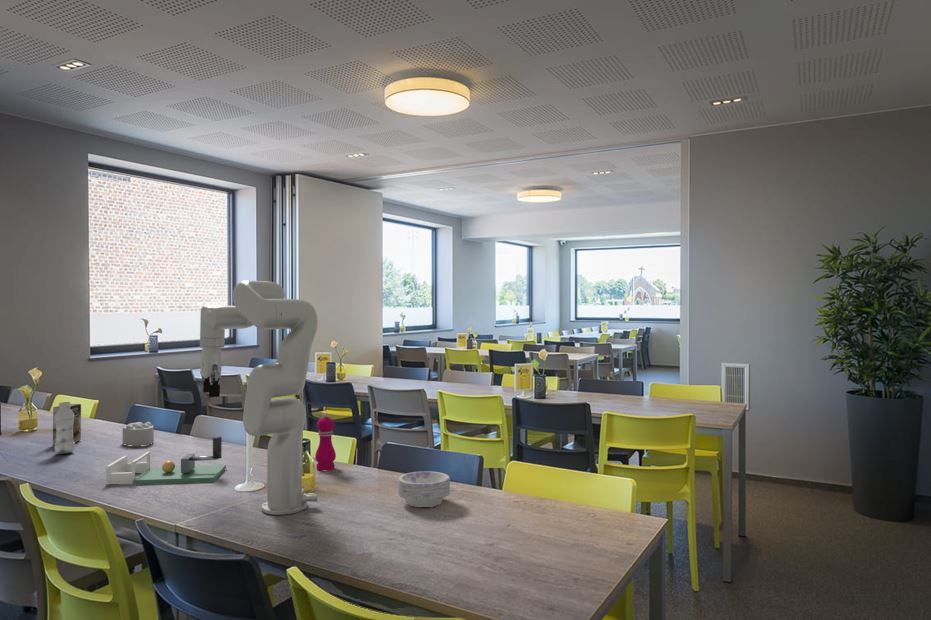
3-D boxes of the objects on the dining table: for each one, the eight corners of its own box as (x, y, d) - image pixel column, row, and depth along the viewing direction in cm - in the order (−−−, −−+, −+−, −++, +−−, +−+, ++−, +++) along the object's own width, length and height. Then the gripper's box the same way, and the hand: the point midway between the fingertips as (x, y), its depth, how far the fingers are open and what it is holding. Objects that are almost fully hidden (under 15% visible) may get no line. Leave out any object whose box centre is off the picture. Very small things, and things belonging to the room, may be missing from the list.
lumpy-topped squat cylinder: (144, 439, 263) (144, 419, 263) (159, 443, 256) (159, 423, 256) (119, 443, 255) (119, 423, 255) (134, 448, 247) (134, 427, 247)
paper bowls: (426, 492, 189) (426, 467, 189) (460, 503, 178) (460, 476, 178) (387, 503, 179) (387, 476, 179) (421, 516, 168) (421, 487, 168)
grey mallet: (223, 466, 211) (224, 435, 211) (218, 472, 204) (218, 439, 204) (187, 468, 209) (187, 436, 209) (180, 473, 202) (180, 440, 202)
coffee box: (67, 446, 250) (67, 407, 250) (52, 446, 250) (52, 407, 250) (81, 441, 259) (81, 403, 259) (66, 441, 259) (66, 403, 259)
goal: (150, 472, 211) (150, 451, 211) (134, 483, 197) (134, 461, 197) (124, 473, 210) (124, 452, 209) (106, 484, 196) (106, 462, 196)
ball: (176, 470, 207) (176, 459, 207) (172, 474, 203) (172, 462, 203) (164, 471, 207) (164, 459, 207) (160, 474, 203) (160, 462, 203)
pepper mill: (330, 472, 212) (330, 415, 212) (311, 470, 214) (311, 414, 214) (339, 466, 219) (339, 411, 219) (320, 465, 221) (320, 410, 221)
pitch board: (225, 469, 215) (225, 464, 215) (213, 481, 200) (213, 477, 200) (151, 471, 212) (151, 467, 212) (132, 484, 196) (132, 480, 196)
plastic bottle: (78, 453, 238) (78, 402, 238) (59, 456, 233) (59, 404, 233) (70, 450, 242) (70, 400, 242) (51, 454, 236) (51, 403, 236)
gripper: (195, 341, 205) (194, 391, 205) (205, 345, 190) (204, 399, 191) (218, 340, 209) (217, 389, 209) (230, 345, 195) (229, 397, 195)
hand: (211, 394), depth 200 cm, fingers open, 9 cm apart
